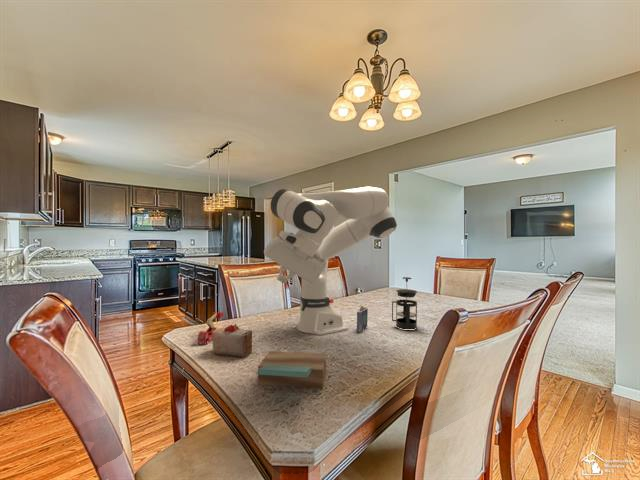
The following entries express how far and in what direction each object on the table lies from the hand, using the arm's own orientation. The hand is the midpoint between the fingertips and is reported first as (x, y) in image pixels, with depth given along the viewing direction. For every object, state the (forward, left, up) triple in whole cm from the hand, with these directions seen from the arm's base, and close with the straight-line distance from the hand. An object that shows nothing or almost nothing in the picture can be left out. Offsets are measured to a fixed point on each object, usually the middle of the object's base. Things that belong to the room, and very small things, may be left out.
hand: (280, 281), depth 96 cm
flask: (-42, -22, -27) cm, 54 cm away
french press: (-62, -18, -27) cm, 69 cm away
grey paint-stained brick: (+14, -13, -27) cm, 33 cm away
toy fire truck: (+21, -30, -27) cm, 45 cm away
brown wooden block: (-2, +12, -26) cm, 29 cm away
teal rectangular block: (+2, +18, -21) cm, 28 cm away
